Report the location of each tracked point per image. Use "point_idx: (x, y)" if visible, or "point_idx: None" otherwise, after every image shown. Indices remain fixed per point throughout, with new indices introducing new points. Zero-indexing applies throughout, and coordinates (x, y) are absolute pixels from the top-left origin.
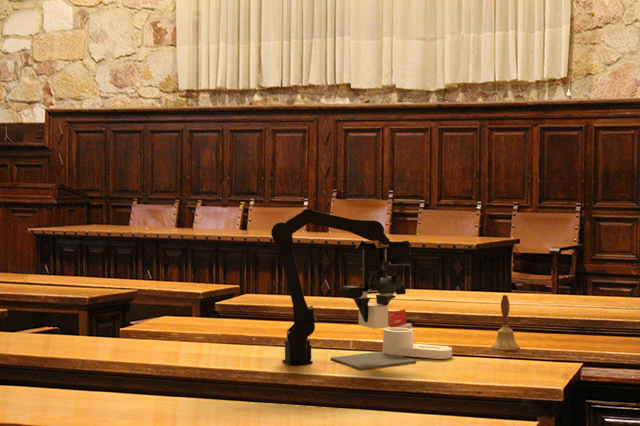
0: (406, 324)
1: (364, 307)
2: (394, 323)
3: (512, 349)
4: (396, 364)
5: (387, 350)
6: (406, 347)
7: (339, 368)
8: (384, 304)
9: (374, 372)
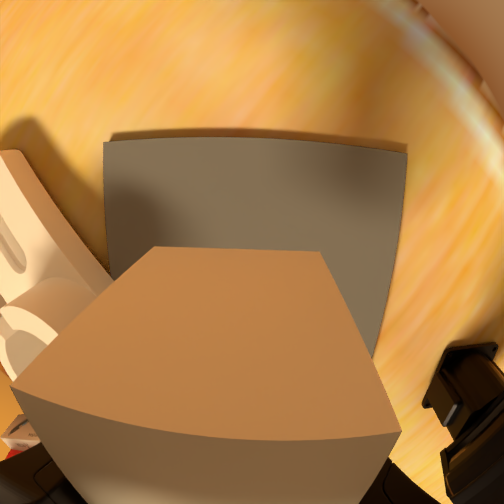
0: (10, 443)
1: (418, 494)
2: None
3: None
4: (208, 137)
5: None
6: (65, 268)
7: (441, 235)
8: (51, 480)
9: (380, 83)
